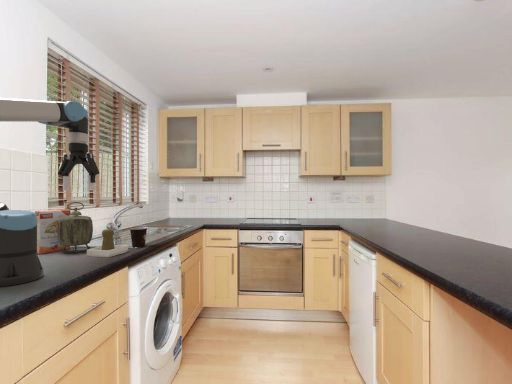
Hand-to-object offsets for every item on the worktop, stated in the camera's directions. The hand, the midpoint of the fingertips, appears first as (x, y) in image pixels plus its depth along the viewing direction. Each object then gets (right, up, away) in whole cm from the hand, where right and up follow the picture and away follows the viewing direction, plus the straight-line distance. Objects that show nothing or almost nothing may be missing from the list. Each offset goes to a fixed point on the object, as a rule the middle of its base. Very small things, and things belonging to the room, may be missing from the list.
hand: (78, 190), depth 125 cm
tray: (+8, -31, +9) cm, 33 cm away
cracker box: (-23, -31, +16) cm, 42 cm away
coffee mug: (+15, -31, +25) cm, 42 cm away
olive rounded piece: (+8, -30, +9) cm, 32 cm away
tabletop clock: (-10, -31, +14) cm, 35 cm away
